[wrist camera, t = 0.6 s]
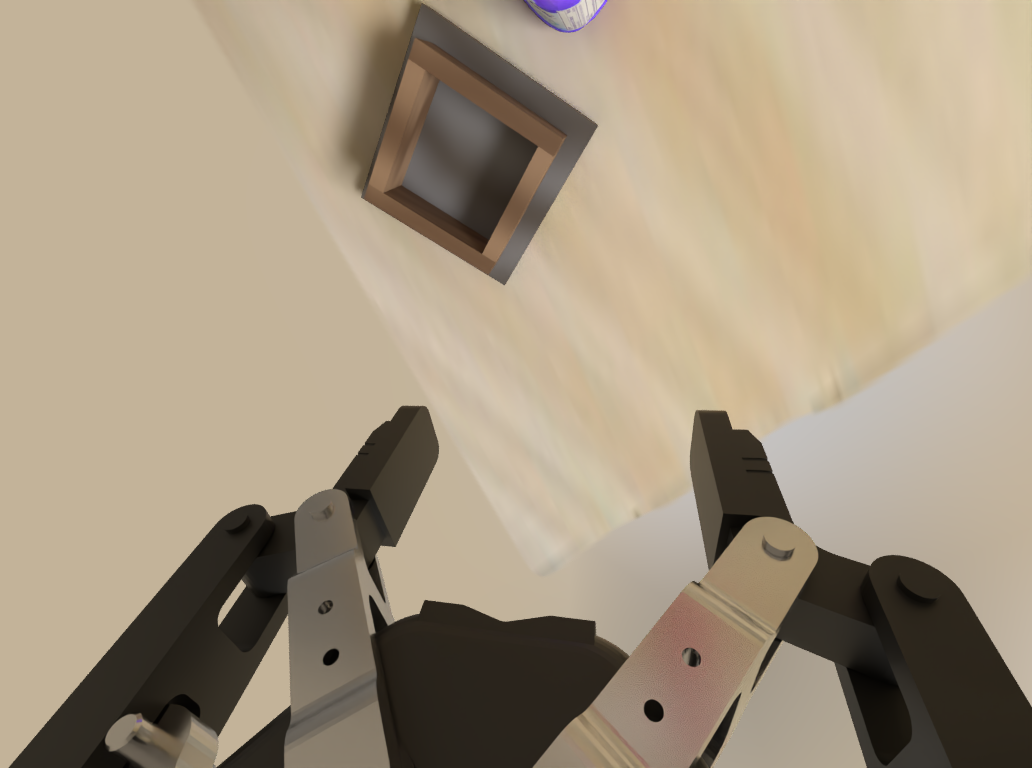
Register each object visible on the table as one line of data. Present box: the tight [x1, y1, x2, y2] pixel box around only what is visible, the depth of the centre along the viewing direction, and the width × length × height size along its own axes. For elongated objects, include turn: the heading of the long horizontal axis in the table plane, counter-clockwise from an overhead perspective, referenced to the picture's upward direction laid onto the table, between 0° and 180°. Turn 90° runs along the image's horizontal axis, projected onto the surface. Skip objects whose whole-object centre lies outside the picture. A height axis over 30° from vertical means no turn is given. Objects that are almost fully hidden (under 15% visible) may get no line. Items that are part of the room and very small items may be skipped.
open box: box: [361, 3, 598, 285], centre depth 33 cm, size 14×14×5 cm
